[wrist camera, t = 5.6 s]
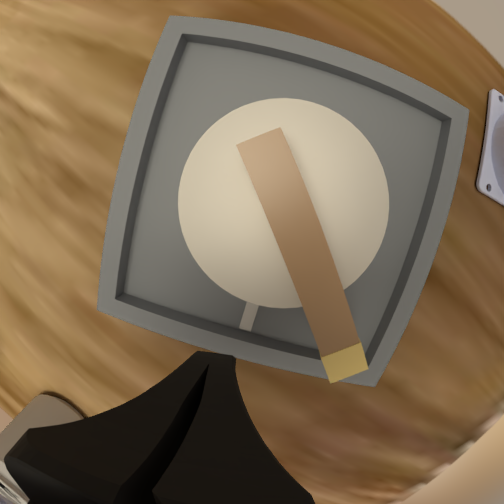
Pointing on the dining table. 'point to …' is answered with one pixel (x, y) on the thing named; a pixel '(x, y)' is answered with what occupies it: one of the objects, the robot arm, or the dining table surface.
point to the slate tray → (217, 106)
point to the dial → (288, 215)
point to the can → (32, 416)
